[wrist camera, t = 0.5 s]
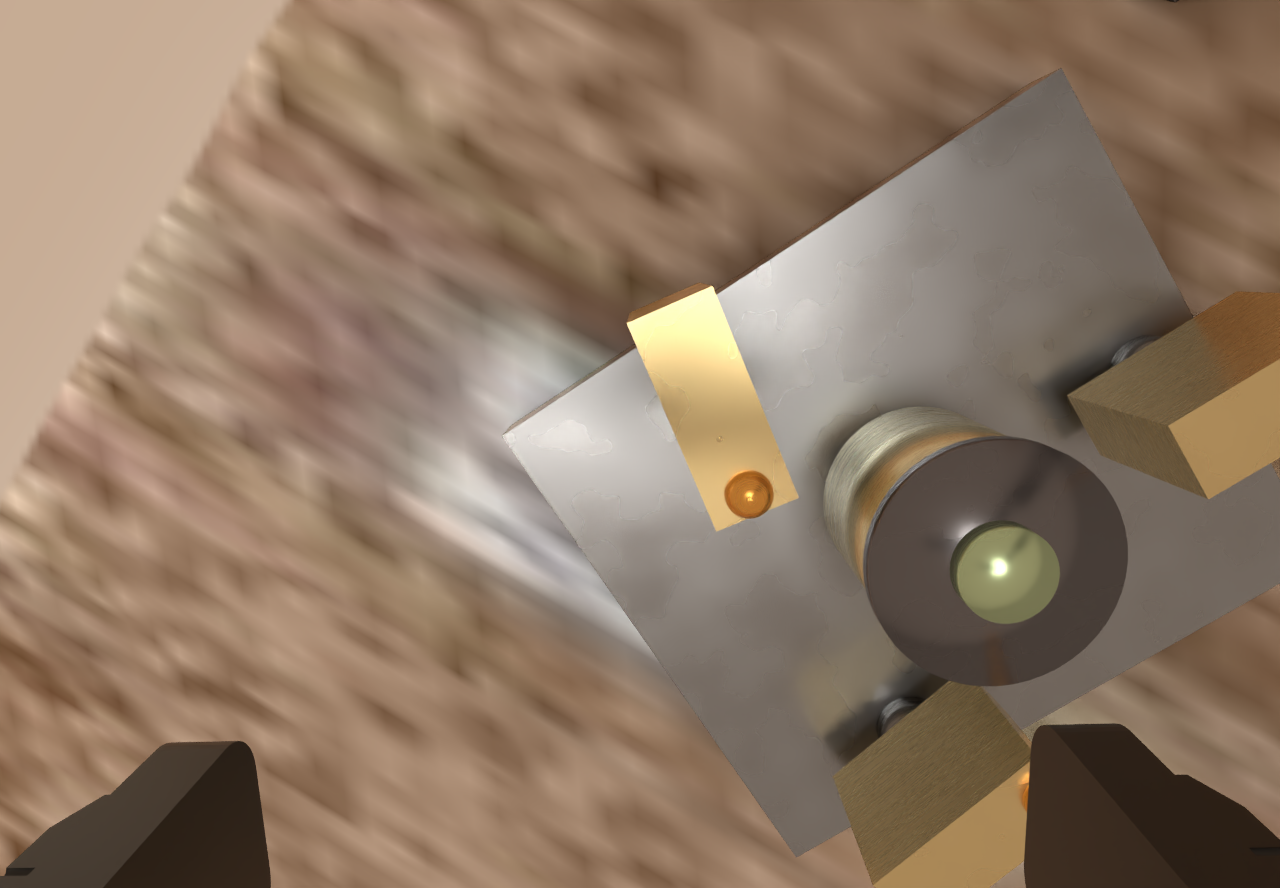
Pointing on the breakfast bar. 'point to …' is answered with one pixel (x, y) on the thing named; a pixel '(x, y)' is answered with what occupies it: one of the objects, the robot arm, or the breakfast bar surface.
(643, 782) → the breakfast bar surface
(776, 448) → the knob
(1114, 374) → the block with orange knob
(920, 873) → the cream rectangular block
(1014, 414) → the plate
